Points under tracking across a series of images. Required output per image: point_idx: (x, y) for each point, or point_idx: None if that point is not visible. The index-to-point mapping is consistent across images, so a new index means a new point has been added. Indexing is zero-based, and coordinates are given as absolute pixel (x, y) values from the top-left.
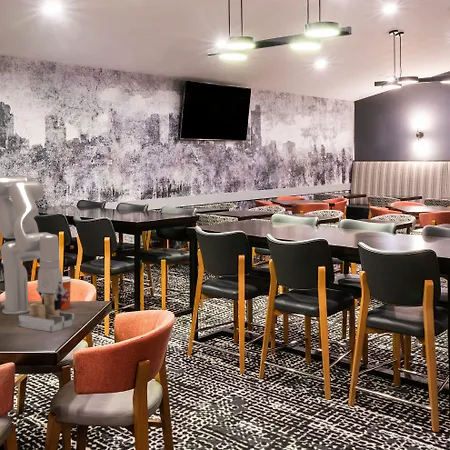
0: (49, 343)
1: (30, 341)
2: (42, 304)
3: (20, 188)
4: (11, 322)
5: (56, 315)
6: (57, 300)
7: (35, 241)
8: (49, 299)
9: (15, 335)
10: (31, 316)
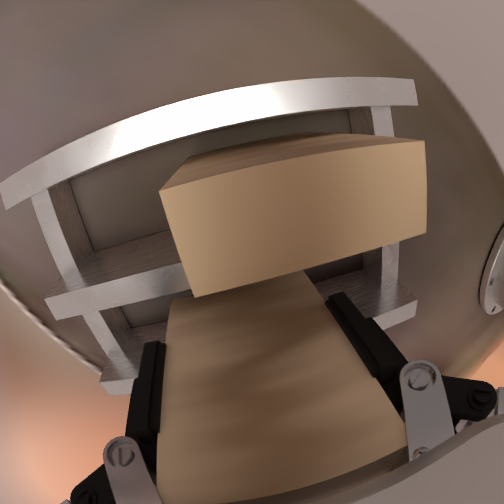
0: None
1: (10, 13)
2: (356, 316)
3: None
4: (452, 131)
5: (123, 302)
6: (129, 443)
7: None
8: (260, 422)
9: None
10: (282, 106)
